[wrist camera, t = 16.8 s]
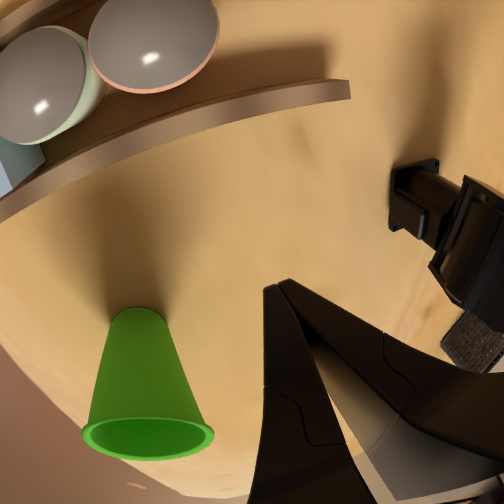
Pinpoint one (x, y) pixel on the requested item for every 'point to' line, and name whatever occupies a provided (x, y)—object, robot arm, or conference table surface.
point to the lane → (153, 130)
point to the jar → (152, 42)
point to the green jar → (46, 85)
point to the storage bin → (473, 344)
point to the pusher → (17, 163)
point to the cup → (143, 395)
